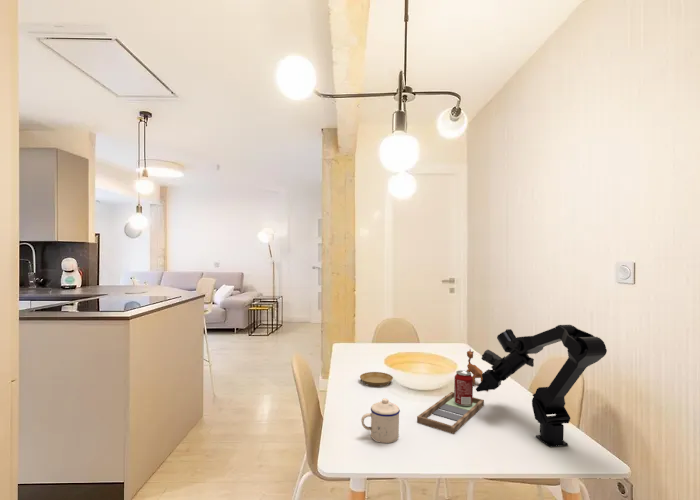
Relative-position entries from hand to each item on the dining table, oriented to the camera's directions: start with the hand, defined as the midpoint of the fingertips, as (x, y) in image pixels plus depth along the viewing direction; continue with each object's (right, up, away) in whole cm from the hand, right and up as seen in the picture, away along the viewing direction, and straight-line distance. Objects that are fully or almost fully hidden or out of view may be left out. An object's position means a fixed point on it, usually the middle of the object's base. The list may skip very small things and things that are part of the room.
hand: (480, 387), depth 139 cm
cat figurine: (+8, -9, +27) cm, 30 cm away
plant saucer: (-37, -9, +28) cm, 47 cm away
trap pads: (-12, -8, -4) cm, 15 cm away
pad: (-6, -8, +4) cm, 11 cm away
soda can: (-5, -8, +4) cm, 11 cm away
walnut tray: (-12, -8, -4) cm, 15 cm away
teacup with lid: (-39, -8, -22) cm, 46 cm away
